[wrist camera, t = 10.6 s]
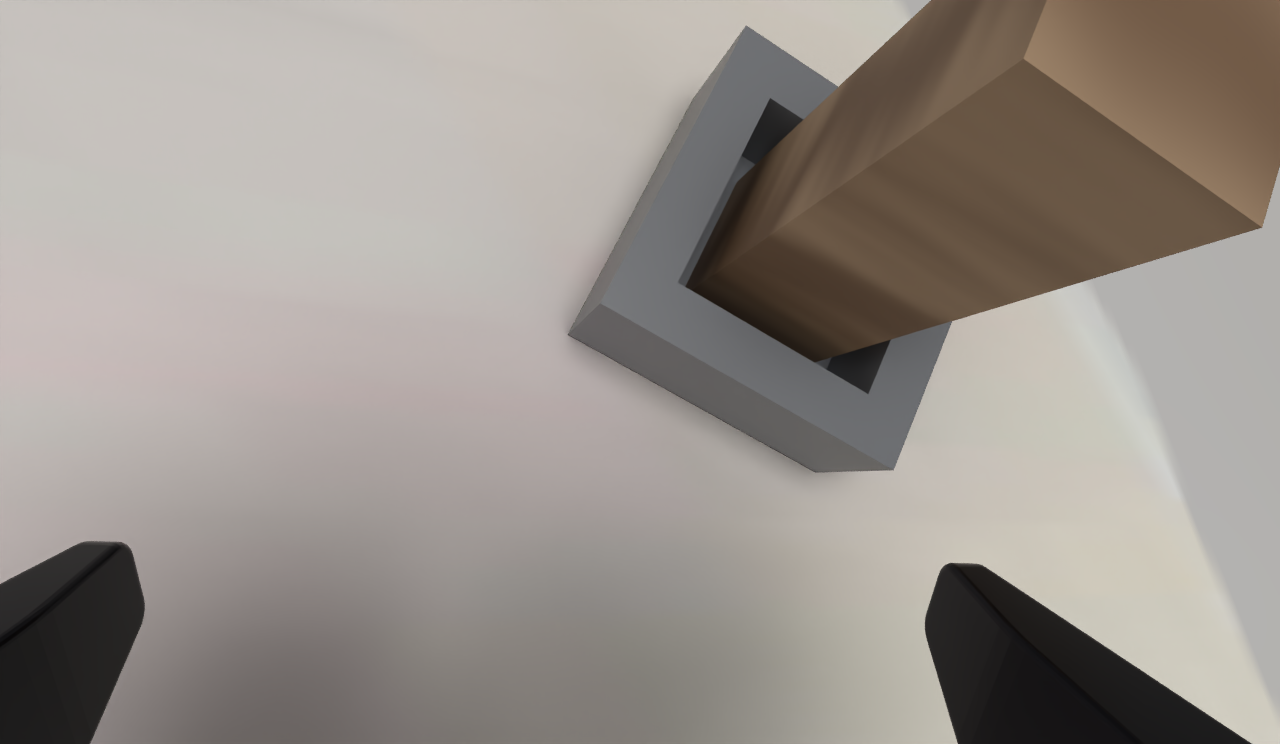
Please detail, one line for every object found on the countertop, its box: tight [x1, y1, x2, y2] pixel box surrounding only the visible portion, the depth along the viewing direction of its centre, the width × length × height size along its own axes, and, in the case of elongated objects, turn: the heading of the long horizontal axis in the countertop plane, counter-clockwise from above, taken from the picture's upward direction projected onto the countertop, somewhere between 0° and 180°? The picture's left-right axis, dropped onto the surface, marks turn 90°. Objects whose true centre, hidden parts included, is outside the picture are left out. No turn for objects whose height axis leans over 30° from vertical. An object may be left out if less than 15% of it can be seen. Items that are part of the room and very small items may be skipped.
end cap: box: [568, 26, 952, 472], centre depth 22 cm, size 8×8×4 cm
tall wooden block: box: [685, 0, 1280, 363], centre depth 17 cm, size 4×4×13 cm
